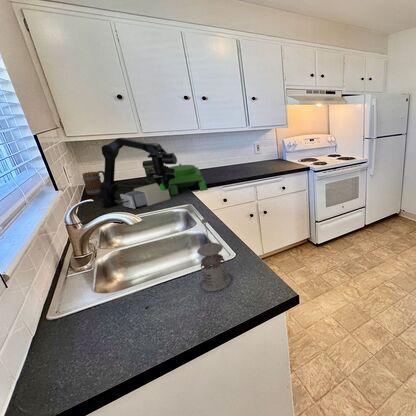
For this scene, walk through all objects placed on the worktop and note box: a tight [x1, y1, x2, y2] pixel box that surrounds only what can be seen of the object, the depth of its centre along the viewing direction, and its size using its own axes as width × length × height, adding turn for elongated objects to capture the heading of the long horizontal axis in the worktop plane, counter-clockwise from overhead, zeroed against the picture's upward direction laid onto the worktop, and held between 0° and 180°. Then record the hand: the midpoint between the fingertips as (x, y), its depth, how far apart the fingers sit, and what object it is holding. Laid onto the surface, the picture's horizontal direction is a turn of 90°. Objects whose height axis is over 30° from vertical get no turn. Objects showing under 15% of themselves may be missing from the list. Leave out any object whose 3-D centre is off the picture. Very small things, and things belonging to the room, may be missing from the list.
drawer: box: [115, 190, 148, 210], centre depth 167 cm, size 18×11×8 cm, turn 152°
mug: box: [82, 170, 104, 196], centre depth 196 cm, size 16×11×15 cm
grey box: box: [133, 183, 171, 207], centre depth 177 cm, size 15×13×10 cm
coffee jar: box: [141, 159, 156, 185], centre depth 217 cm, size 10×8×19 cm
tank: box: [168, 163, 208, 196], centre depth 206 cm, size 24×35×16 cm
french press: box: [196, 218, 232, 292], centre depth 92 cm, size 10×12×25 cm
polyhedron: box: [159, 183, 169, 191], centre depth 170 cm, size 5×5×5 cm
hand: (164, 188), depth 170 cm, fingers closed on polyhedron, 5 cm apart
